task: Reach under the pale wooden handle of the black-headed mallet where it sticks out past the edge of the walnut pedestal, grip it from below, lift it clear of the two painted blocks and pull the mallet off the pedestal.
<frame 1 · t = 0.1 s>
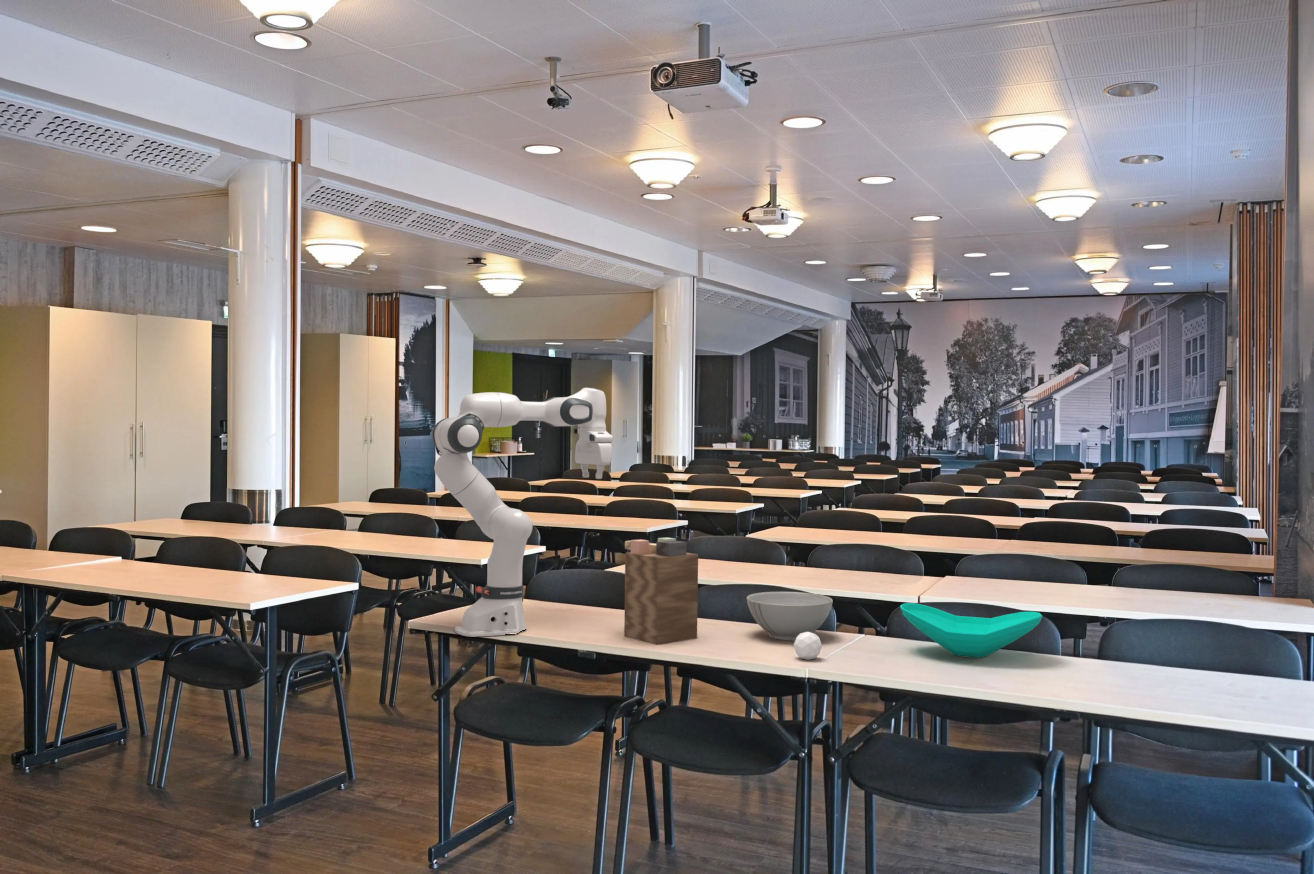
hand: (592, 478, 349), 48 cm above the table, tool pointing down, fingers open, 8 cm apart
decorative bowl: (788, 637, 329), on the table
sage block: (666, 550, 331), point 26 cm above the table, touching pedestal
terracotta block: (639, 553, 324), point 26 cm above the table, touching pedestal
mallet: (649, 551, 329), point 26 cm above the table, touching pedestal
geometric ball: (807, 659, 297), on the table
pedestal: (660, 637, 325), on the table
table top decor: (969, 656, 304), on the table
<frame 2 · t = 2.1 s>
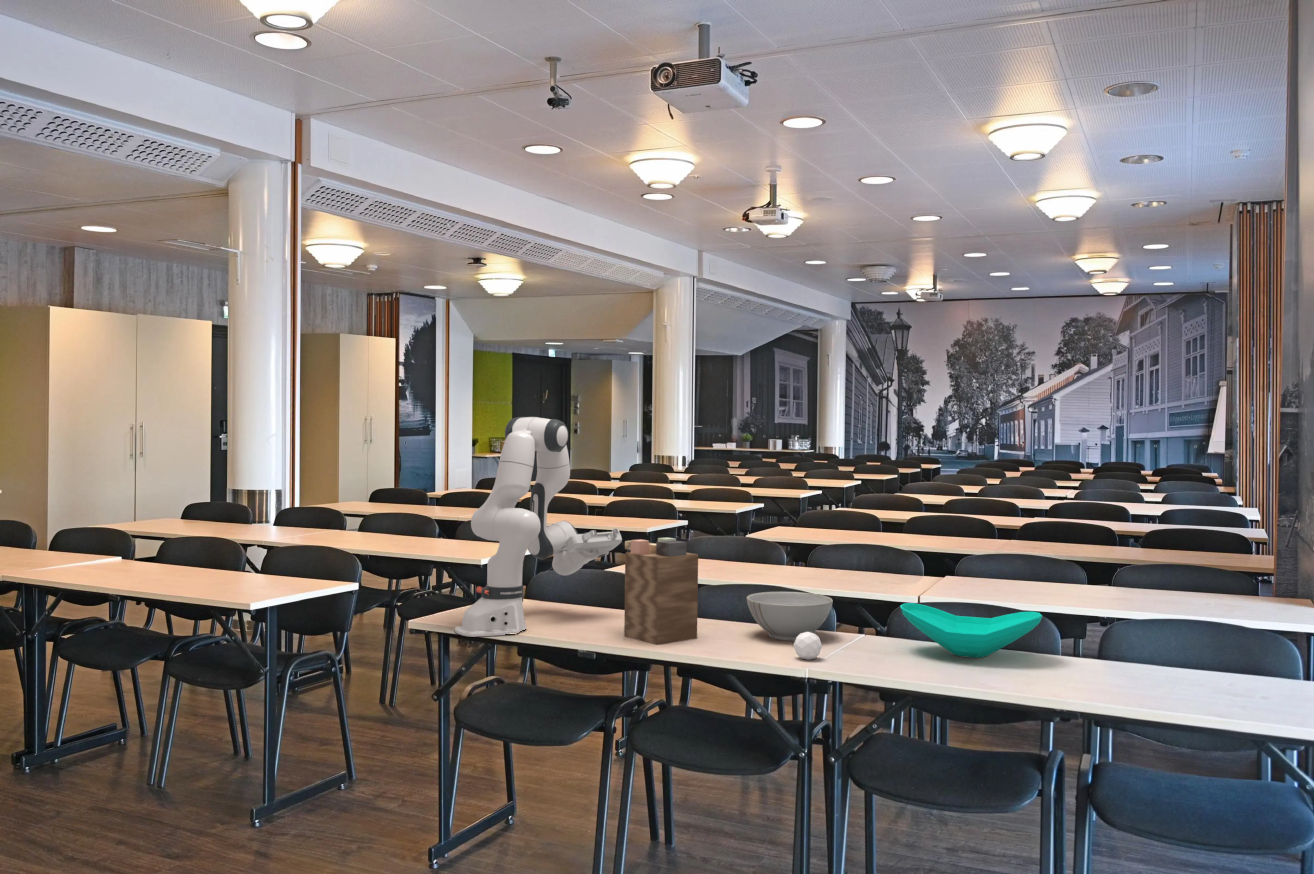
hand: (606, 531, 346), 31 cm above the table, tool pointing upward, fingers open, 8 cm apart
nothing on the table moved.
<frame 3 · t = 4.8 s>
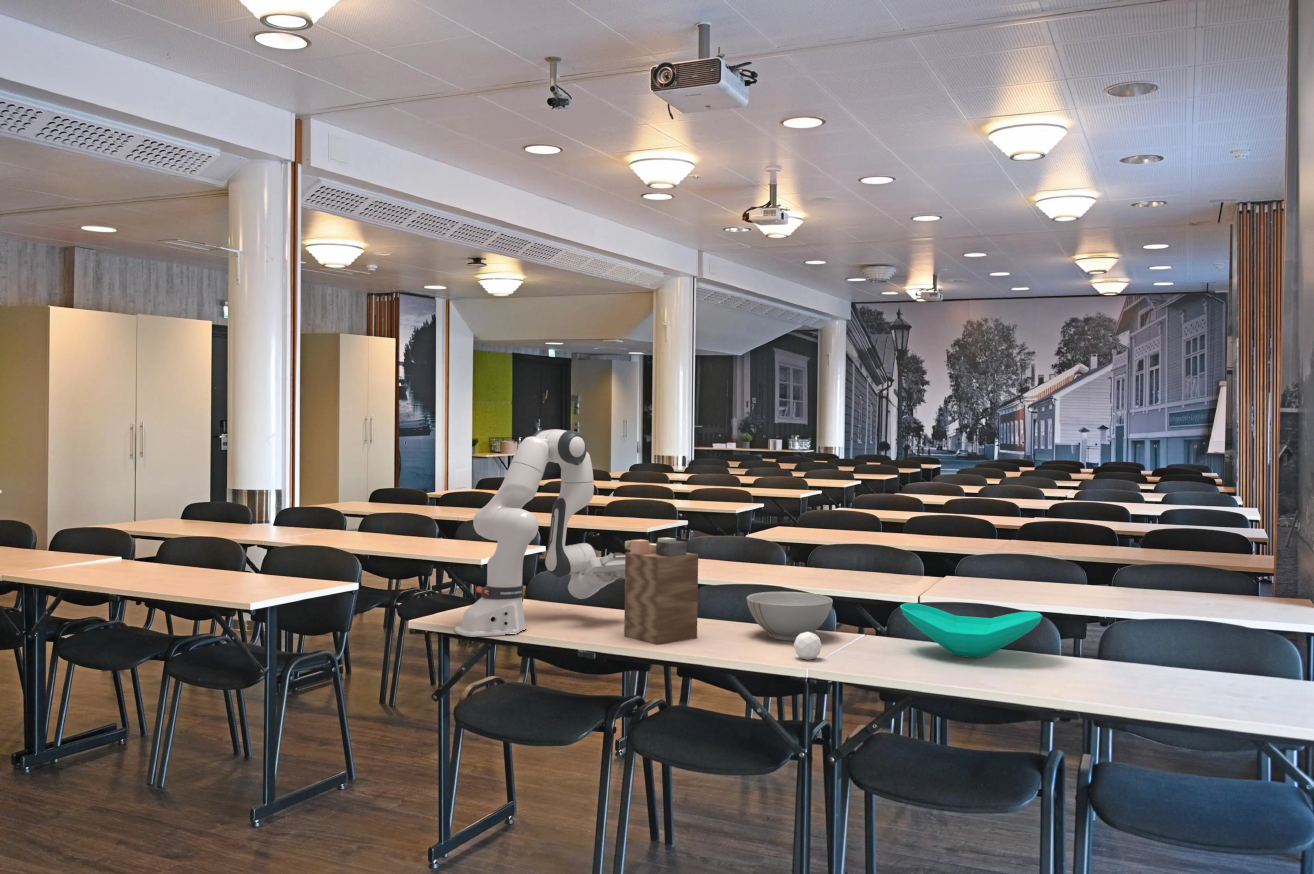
hand: (624, 554, 339), 24 cm above the table, tool pointing upward, fingers open, 8 cm apart
nothing on the table moved.
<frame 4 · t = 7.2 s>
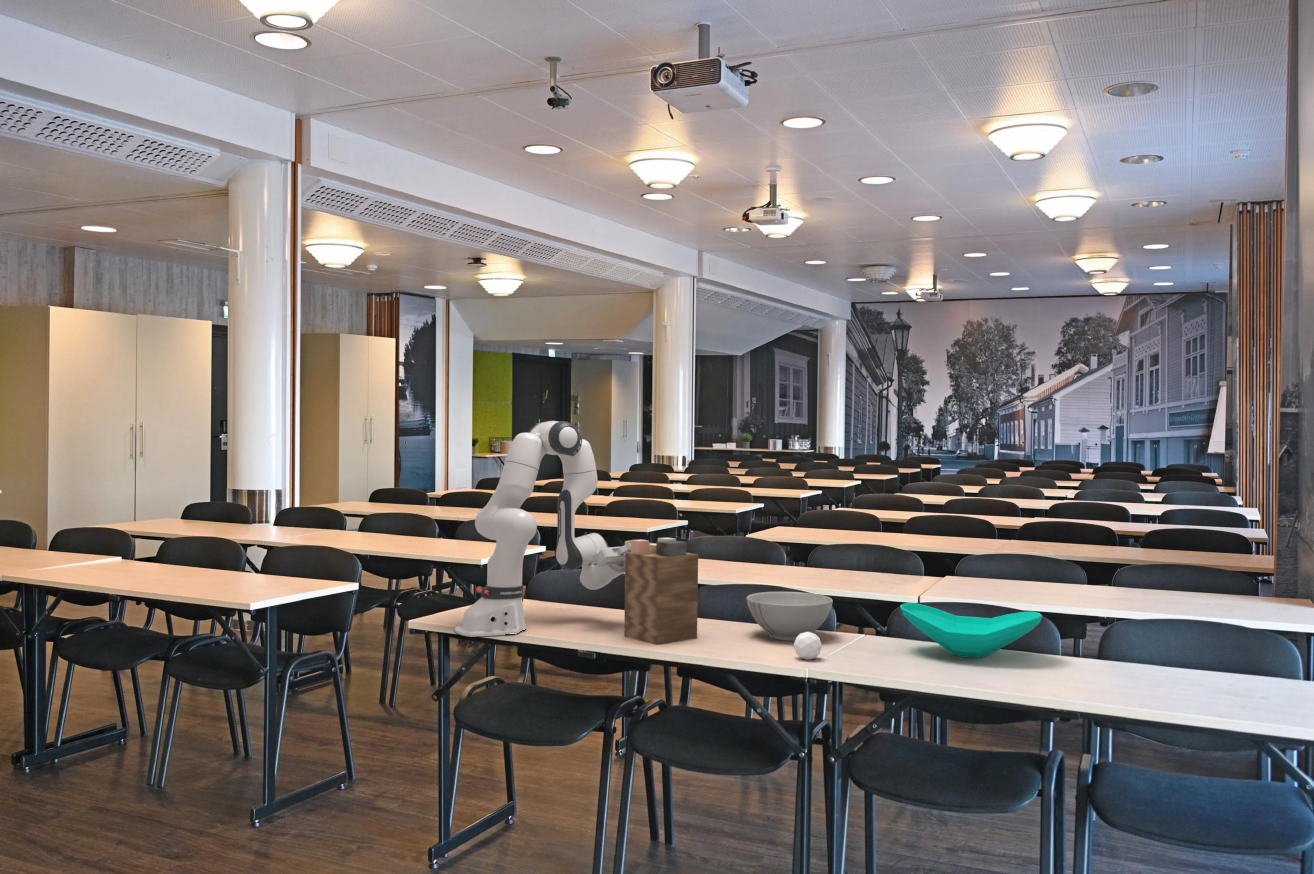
hand: (637, 544, 334), 28 cm above the table, tool pointing upward, fingers closed on mallet, 3 cm apart
mallet: (649, 551, 329), point 26 cm above the table, touching gripper, pedestal
everything else where it was.
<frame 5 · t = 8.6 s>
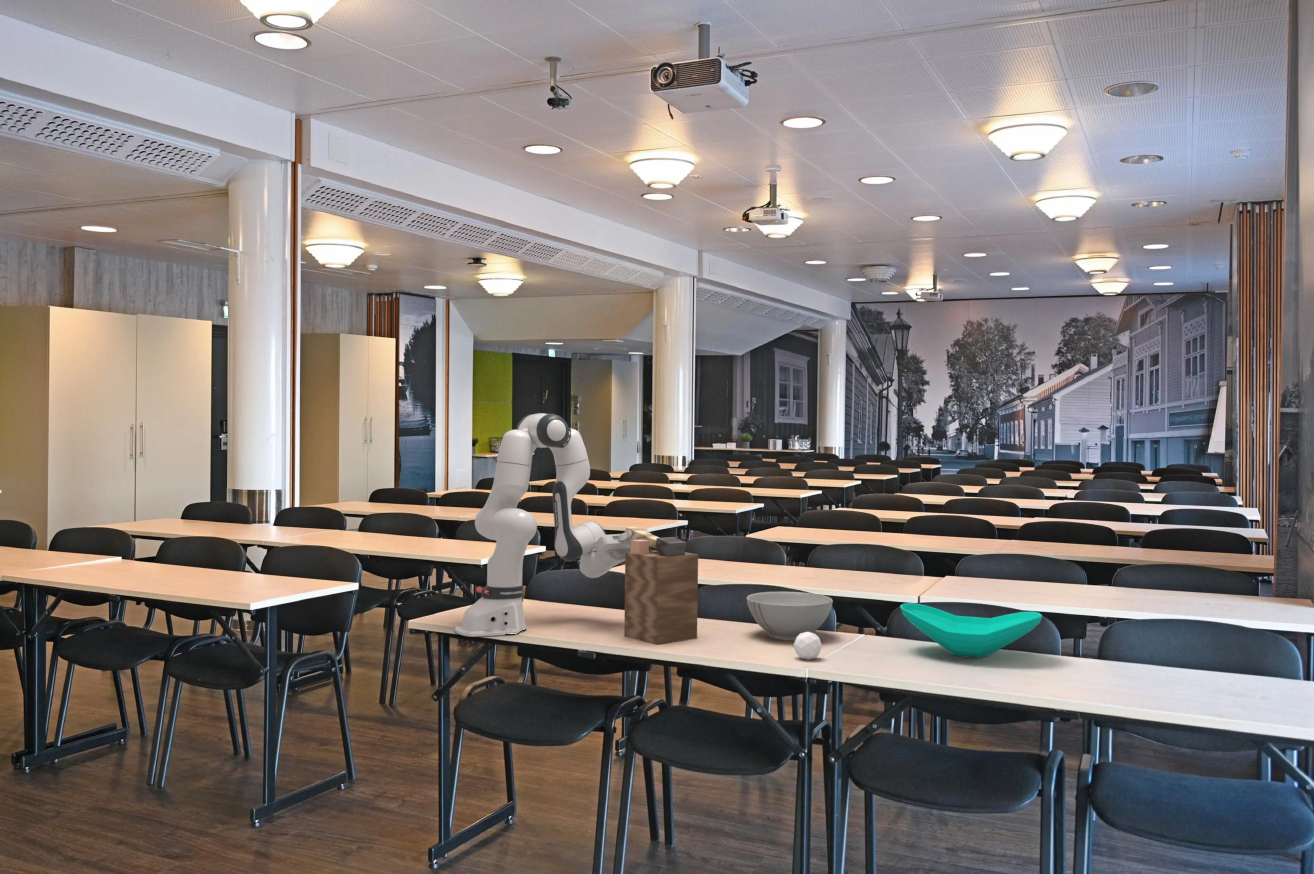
hand: (637, 531, 334), 32 cm above the table, tool pointing upward, fingers closed on mallet, 3 cm apart
mallet: (648, 543, 330), point 29 cm above the table, tilted 11°, touching gripper
everything else where it was.
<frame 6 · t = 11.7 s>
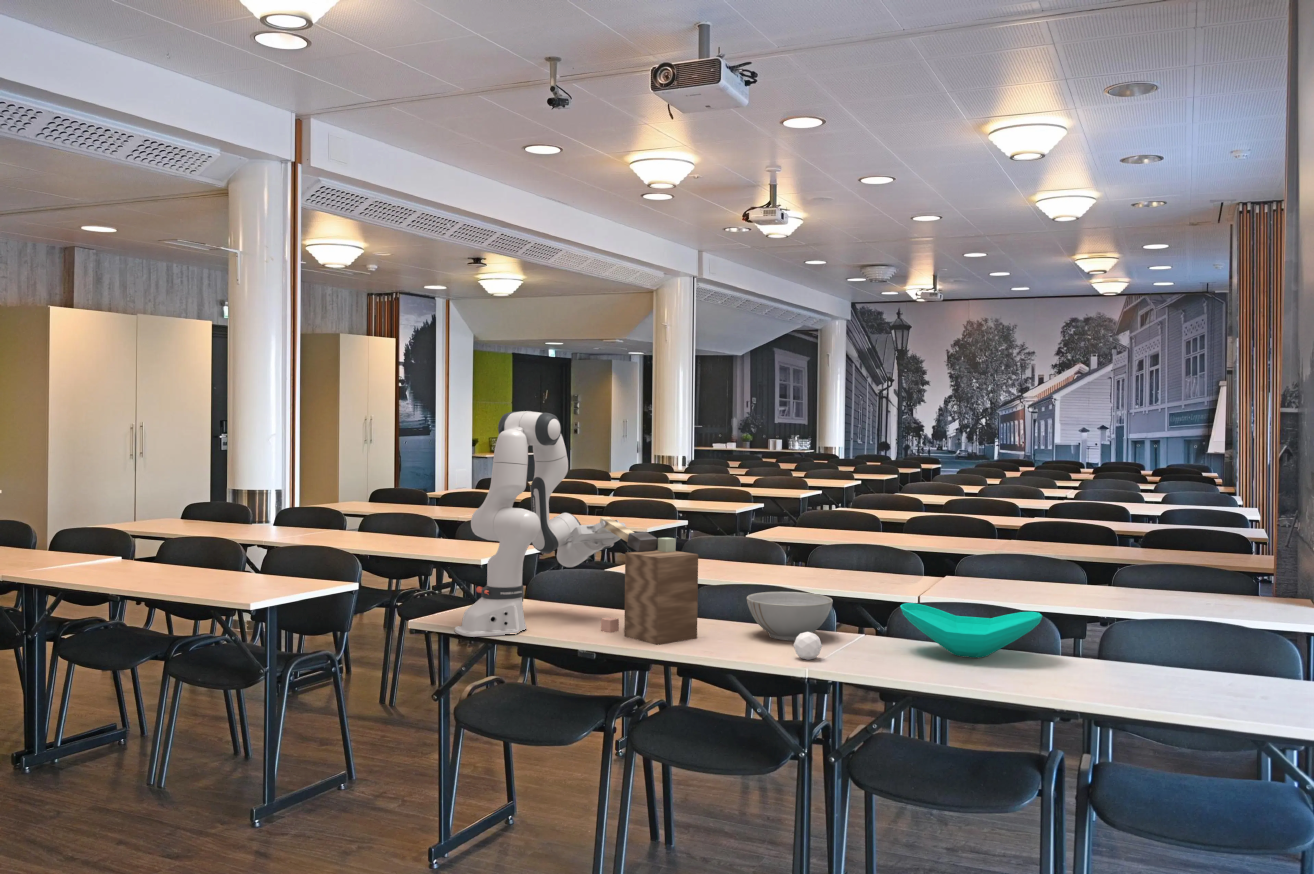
hand: (611, 522, 344), 34 cm above the table, tool pointing upward, fingers closed on mallet, 3 cm apart
terracotta block: (605, 624, 336), point 2 cm above the table, tilted 90°
mallet: (621, 535, 340), point 30 cm above the table, tilted 17°, touching gripper
everything else where it was.
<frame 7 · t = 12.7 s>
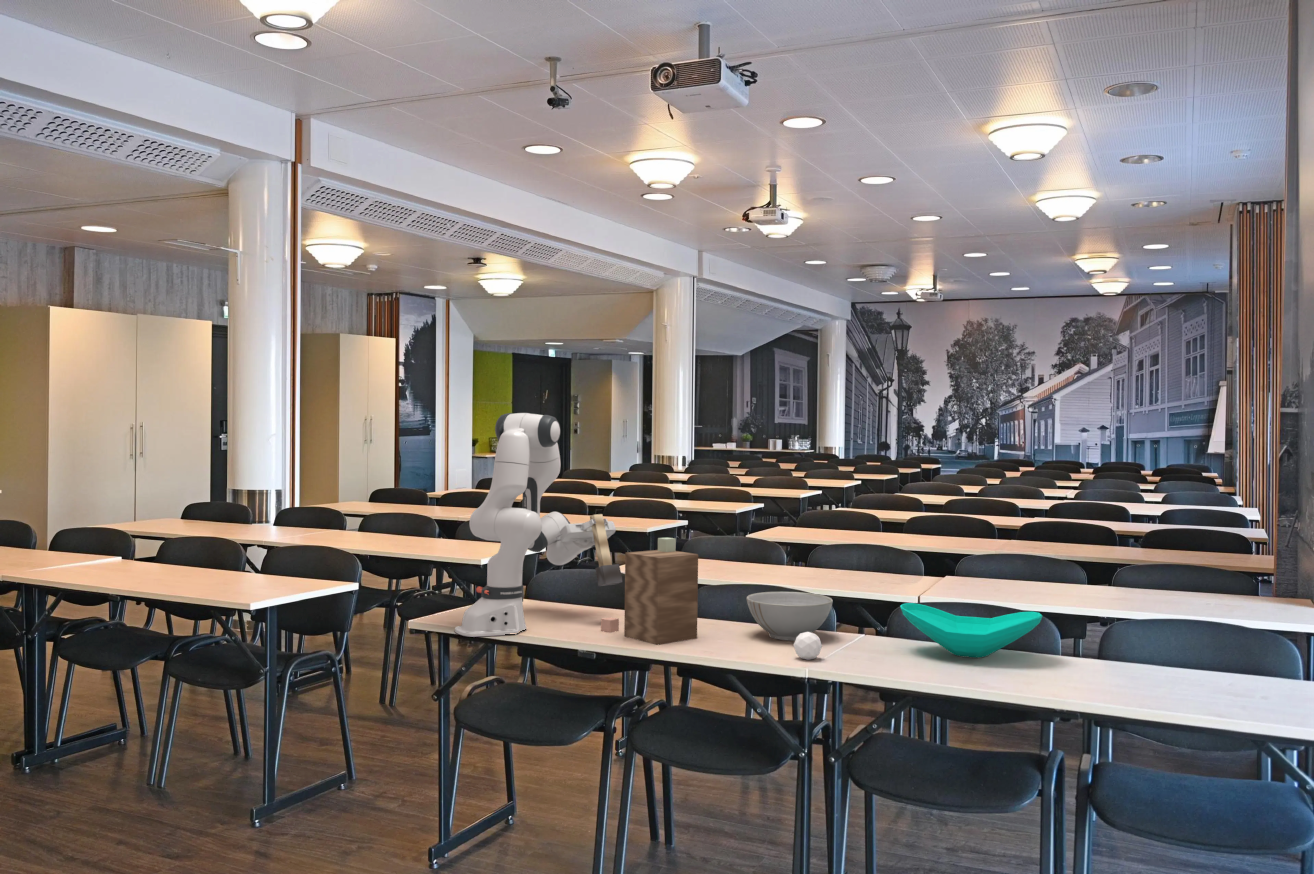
hand: (599, 520, 349), 34 cm above the table, tool pointing upward, fingers closed on mallet, 3 cm apart
mallet: (599, 545, 349), point 26 cm above the table, tilted 71°, touching gripper
everything else where it was.
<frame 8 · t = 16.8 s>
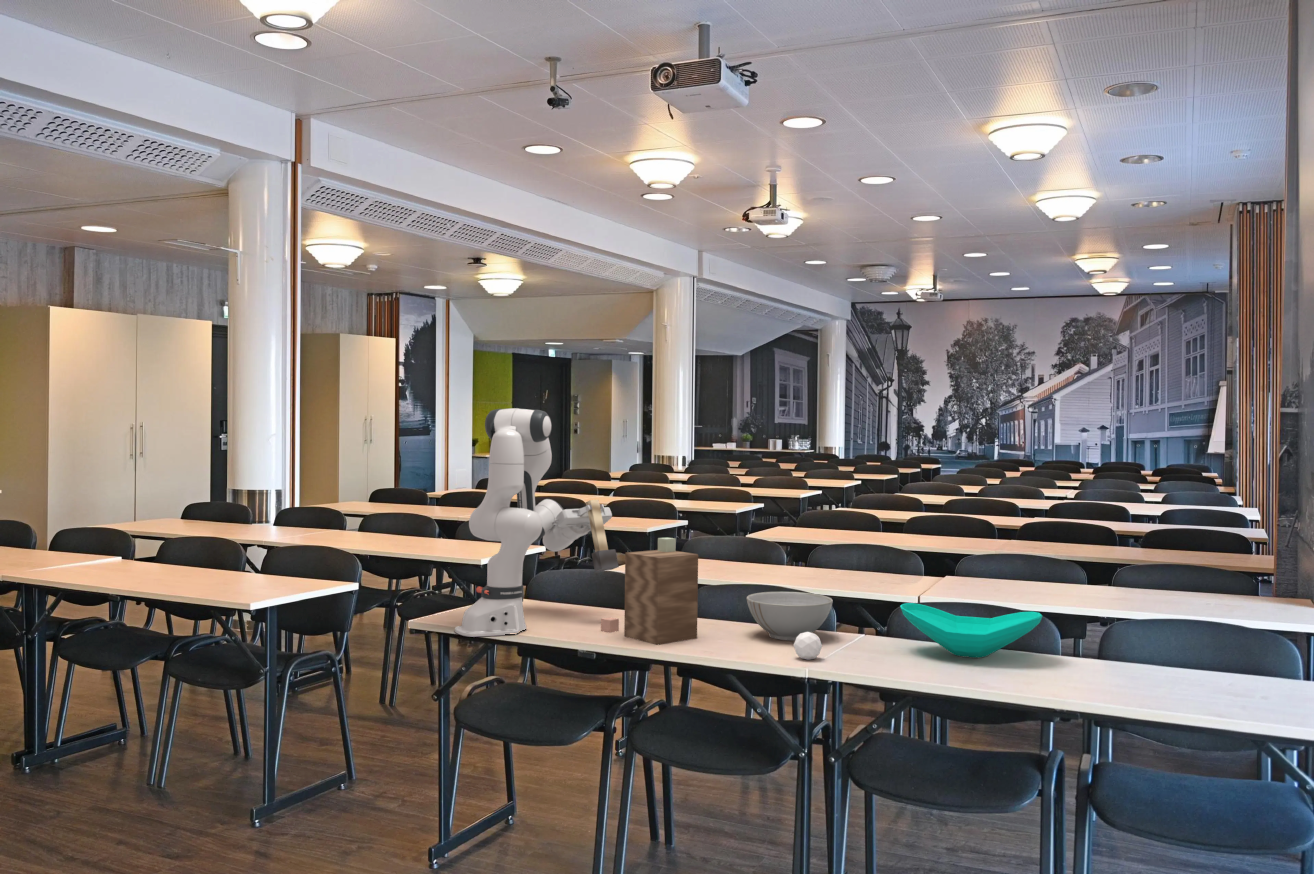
hand: (596, 506, 350), 38 cm above the table, tool pointing upward, fingers closed on mallet, 3 cm apart
mallet: (595, 530, 351), point 30 cm above the table, tilted 71°, touching gripper
everything else where it was.
at the end: the gripper is holding mallet; mallet touching gripper; mallet moved 28.1 cm from its start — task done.
